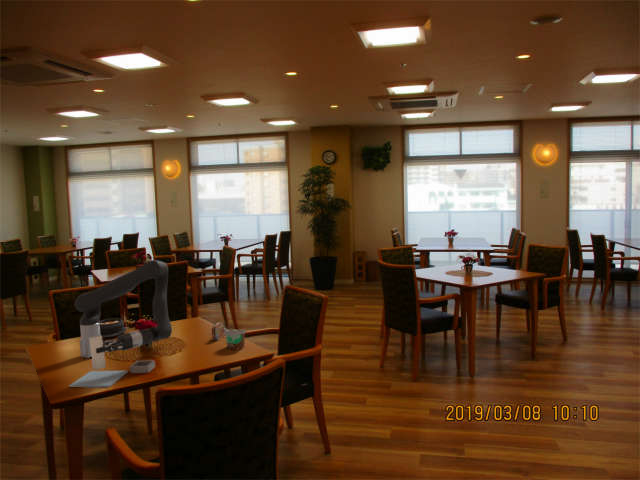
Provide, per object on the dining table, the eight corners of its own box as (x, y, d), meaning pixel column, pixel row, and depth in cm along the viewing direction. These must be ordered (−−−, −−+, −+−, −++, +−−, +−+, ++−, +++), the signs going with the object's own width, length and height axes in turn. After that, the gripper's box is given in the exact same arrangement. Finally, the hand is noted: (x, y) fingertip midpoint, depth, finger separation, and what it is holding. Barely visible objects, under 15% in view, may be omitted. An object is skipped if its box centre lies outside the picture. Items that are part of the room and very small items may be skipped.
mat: (69, 387, 216) (68, 385, 216) (90, 372, 234) (90, 371, 233) (109, 387, 214) (108, 385, 214) (127, 372, 232) (127, 370, 232)
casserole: (122, 338, 290) (121, 324, 289) (88, 341, 287) (87, 327, 286) (130, 328, 315) (129, 315, 314) (99, 330, 311) (98, 317, 310)
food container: (220, 349, 262) (219, 330, 262) (226, 345, 268) (225, 327, 267) (240, 351, 258) (239, 332, 257) (246, 347, 263) (245, 329, 263)
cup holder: (129, 373, 231) (129, 366, 231) (137, 366, 240) (137, 360, 239) (148, 372, 230) (147, 366, 230) (155, 366, 239) (155, 360, 239)
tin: (216, 341, 276) (215, 327, 276) (211, 341, 277) (210, 326, 276) (226, 334, 291) (225, 320, 290) (221, 334, 292) (220, 320, 291)
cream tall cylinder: (90, 368, 223) (86, 338, 222) (101, 364, 227) (97, 335, 226) (97, 370, 220) (93, 339, 219) (108, 366, 224) (104, 335, 223)
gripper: (122, 330, 238) (86, 339, 226) (136, 335, 228) (99, 344, 216) (123, 345, 239) (87, 355, 227) (138, 350, 229) (101, 361, 217)
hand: (93, 349), depth 222 cm, fingers closed on cream tall cylinder, 5 cm apart
